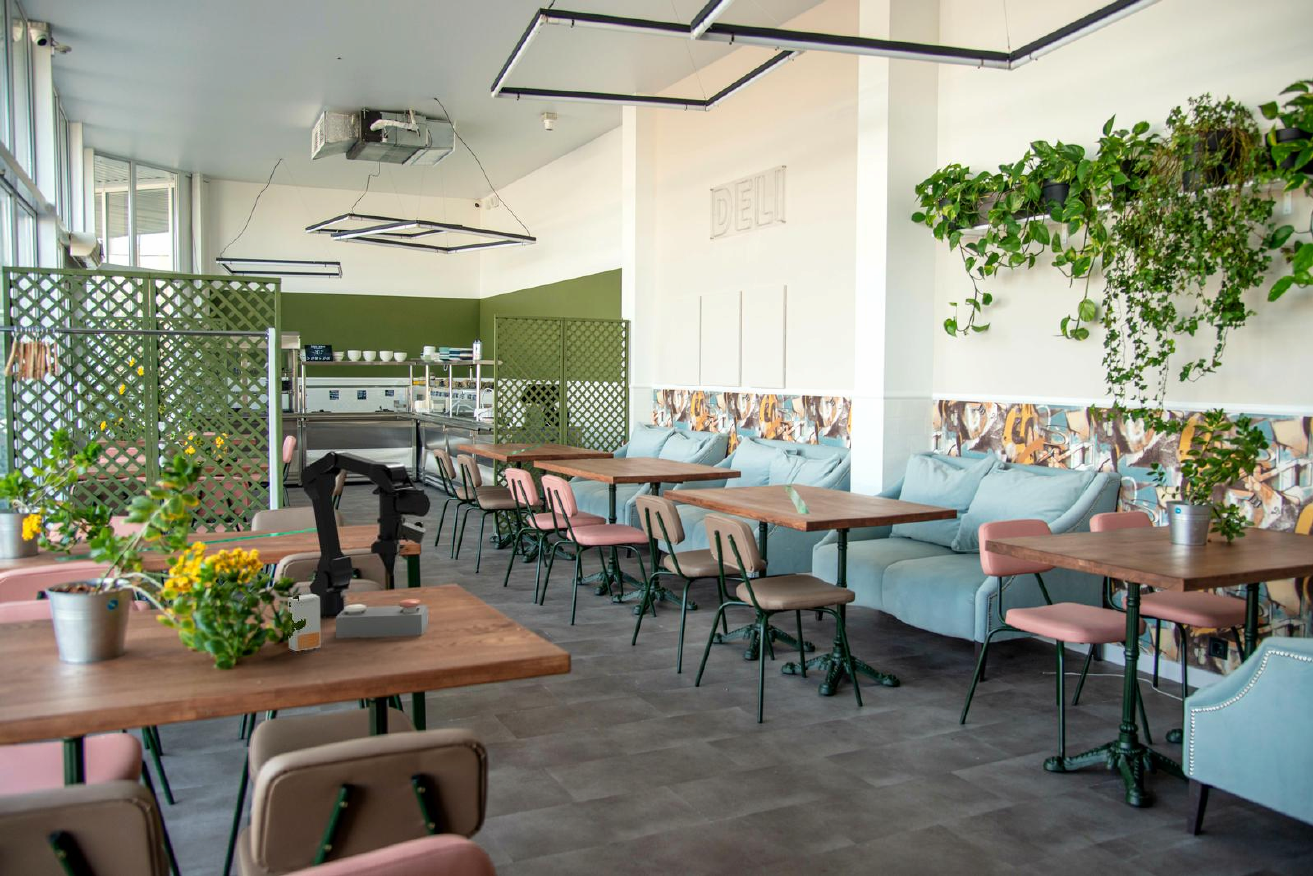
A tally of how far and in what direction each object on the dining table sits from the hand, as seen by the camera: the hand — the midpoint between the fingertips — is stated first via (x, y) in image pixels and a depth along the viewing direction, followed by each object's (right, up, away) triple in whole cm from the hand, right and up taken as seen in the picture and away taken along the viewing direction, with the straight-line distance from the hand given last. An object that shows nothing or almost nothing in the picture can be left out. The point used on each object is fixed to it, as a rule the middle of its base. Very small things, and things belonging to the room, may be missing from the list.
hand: (391, 575), depth 239 cm
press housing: (0, -13, -7) cm, 14 cm away
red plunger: (+6, -11, -6) cm, 14 cm away
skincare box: (-14, -14, -21) cm, 29 cm away
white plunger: (-7, -12, -7) cm, 15 cm away
